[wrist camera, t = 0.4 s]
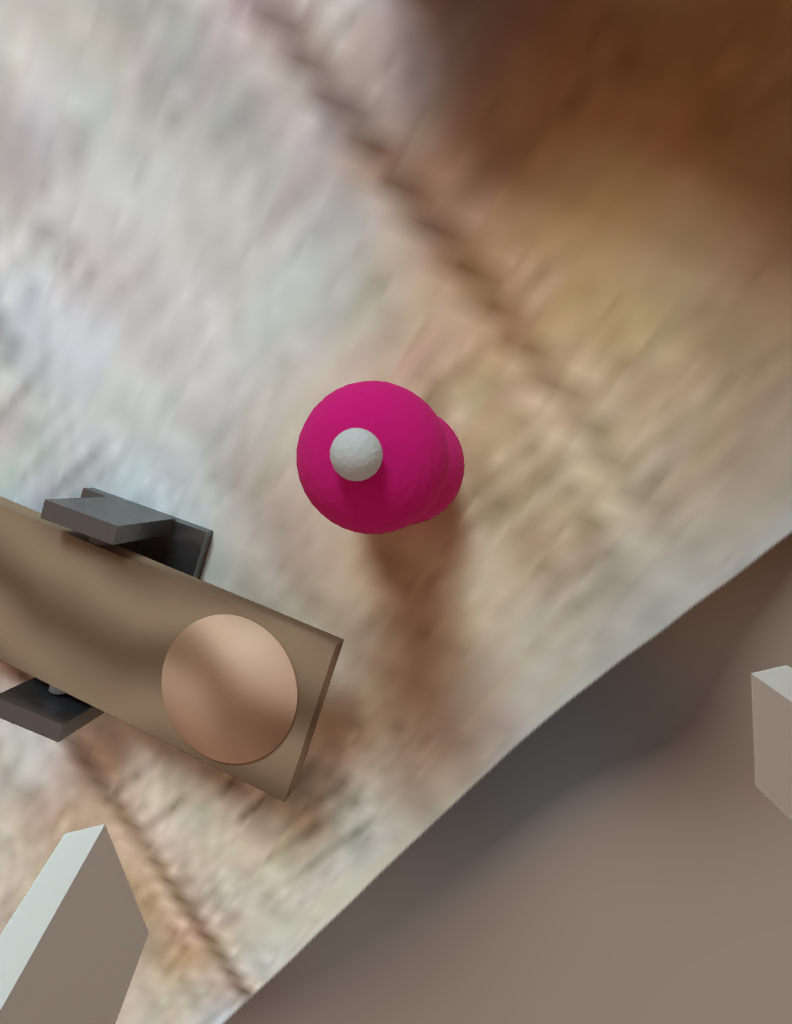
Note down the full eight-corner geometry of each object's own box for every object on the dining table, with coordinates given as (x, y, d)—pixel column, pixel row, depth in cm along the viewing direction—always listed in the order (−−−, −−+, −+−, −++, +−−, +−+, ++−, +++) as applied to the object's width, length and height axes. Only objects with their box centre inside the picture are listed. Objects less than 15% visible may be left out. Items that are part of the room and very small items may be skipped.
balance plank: (-83, 453, 39) (-160, 447, 34) (347, 630, 31) (319, 651, 27) (-116, 594, 40) (-195, 606, 35) (292, 796, 33) (257, 843, 28)
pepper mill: (430, 538, 37) (391, 607, 17) (342, 486, 37) (205, 494, 17) (483, 447, 36) (509, 408, 16) (392, 396, 36) (308, 296, 17)
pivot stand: (93, 485, 40) (9, 486, 32) (213, 528, 39) (155, 539, 31) (46, 660, 41) (-45, 699, 34) (161, 706, 40) (93, 757, 33)
